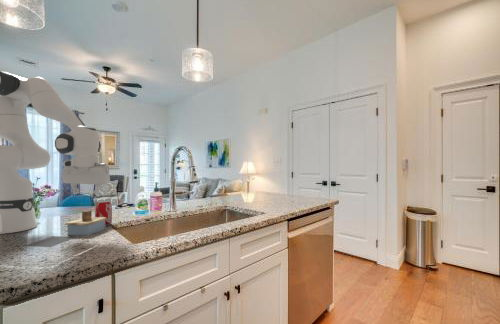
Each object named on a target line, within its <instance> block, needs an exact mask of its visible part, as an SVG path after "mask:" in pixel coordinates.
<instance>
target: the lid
mask: <svg viewBox="0 0 500 324" xmlns="http://www.w3.org/2000/svg"><path fill="white" fill-rule="evenodd" d="M92 215H93V214H92V210H87V209H86V210H83V211H81V217H80V218H77V219H75V220H69V221H67V222H65V225H67V226H68V225H91V224H94V223H97V222H99V221H102V220H105V219H106V217H95V216H92Z"/></svg>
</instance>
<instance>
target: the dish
mask: <svg viewBox="0 0 500 324" xmlns="http://www.w3.org/2000/svg"><path fill="white" fill-rule="evenodd" d="M104 230H106V226H105V220H102V221H99V222H97V223H94V224H91V225H67V236H91V235H94V234H96V233H98V232H99V233H100V232H101V231H104Z"/></svg>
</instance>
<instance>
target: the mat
mask: <svg viewBox="0 0 500 324" xmlns="http://www.w3.org/2000/svg"><path fill="white" fill-rule="evenodd" d="M75 238H77V236H60V235H59V236H54V235H52V236H49V237H45V238H44V239H40V240H37V241H34V242H31V243H28V244H26V245H24V247H42V248H43V247H44V248H45V247H47V248H53V247H54V246H57V245H60V244H63V243H64V242H67V241H70V240H73V239H75Z"/></svg>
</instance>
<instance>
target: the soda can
mask: <svg viewBox="0 0 500 324" xmlns="http://www.w3.org/2000/svg"><path fill="white" fill-rule="evenodd" d="M112 206H113V205H112V202H111V200H107V199H105V200H104V199H103V200H97V201H96V203H95V205H94V217H106V219H105V227H108V226H110V225H111V224H112V222H113V214H112V213H113V207H112Z"/></svg>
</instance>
